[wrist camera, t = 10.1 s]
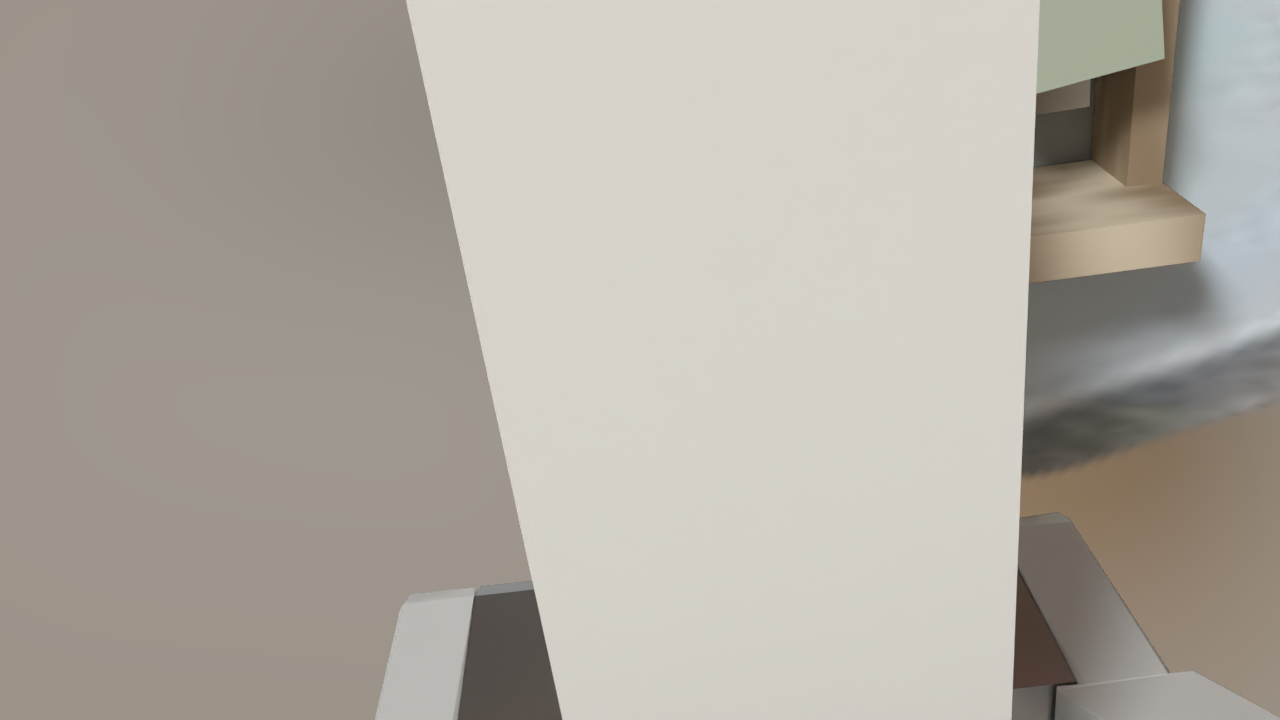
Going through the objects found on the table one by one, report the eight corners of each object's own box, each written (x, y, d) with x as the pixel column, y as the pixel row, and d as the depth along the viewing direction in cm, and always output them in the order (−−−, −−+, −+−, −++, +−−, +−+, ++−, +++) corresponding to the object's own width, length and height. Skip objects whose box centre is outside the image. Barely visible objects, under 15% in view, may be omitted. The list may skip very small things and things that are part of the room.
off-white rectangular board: (643, -341, 18) (1088, -1224, 2) (723, 412, 24) (976, 1626, 8) (542, -326, 18) (175, -1080, 2) (650, 422, 24) (764, 1647, 8)
